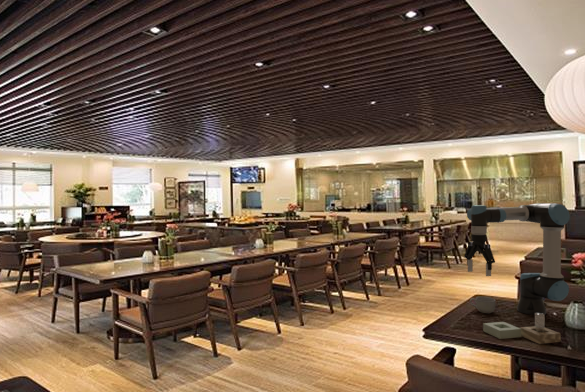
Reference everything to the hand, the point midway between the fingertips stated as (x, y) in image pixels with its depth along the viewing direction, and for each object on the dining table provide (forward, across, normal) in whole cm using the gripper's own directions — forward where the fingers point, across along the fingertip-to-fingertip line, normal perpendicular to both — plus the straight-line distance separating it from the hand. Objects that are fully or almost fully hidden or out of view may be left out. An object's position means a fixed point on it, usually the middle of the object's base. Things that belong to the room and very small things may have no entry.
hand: (479, 273), depth 223 cm
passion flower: (+28, -29, +70) cm, 81 cm away
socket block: (+28, +15, 0) cm, 31 cm away
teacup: (+28, -21, +21) cm, 41 cm away
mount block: (+28, +26, +13) cm, 40 cm away
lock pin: (+28, +26, +13) cm, 40 cm away
